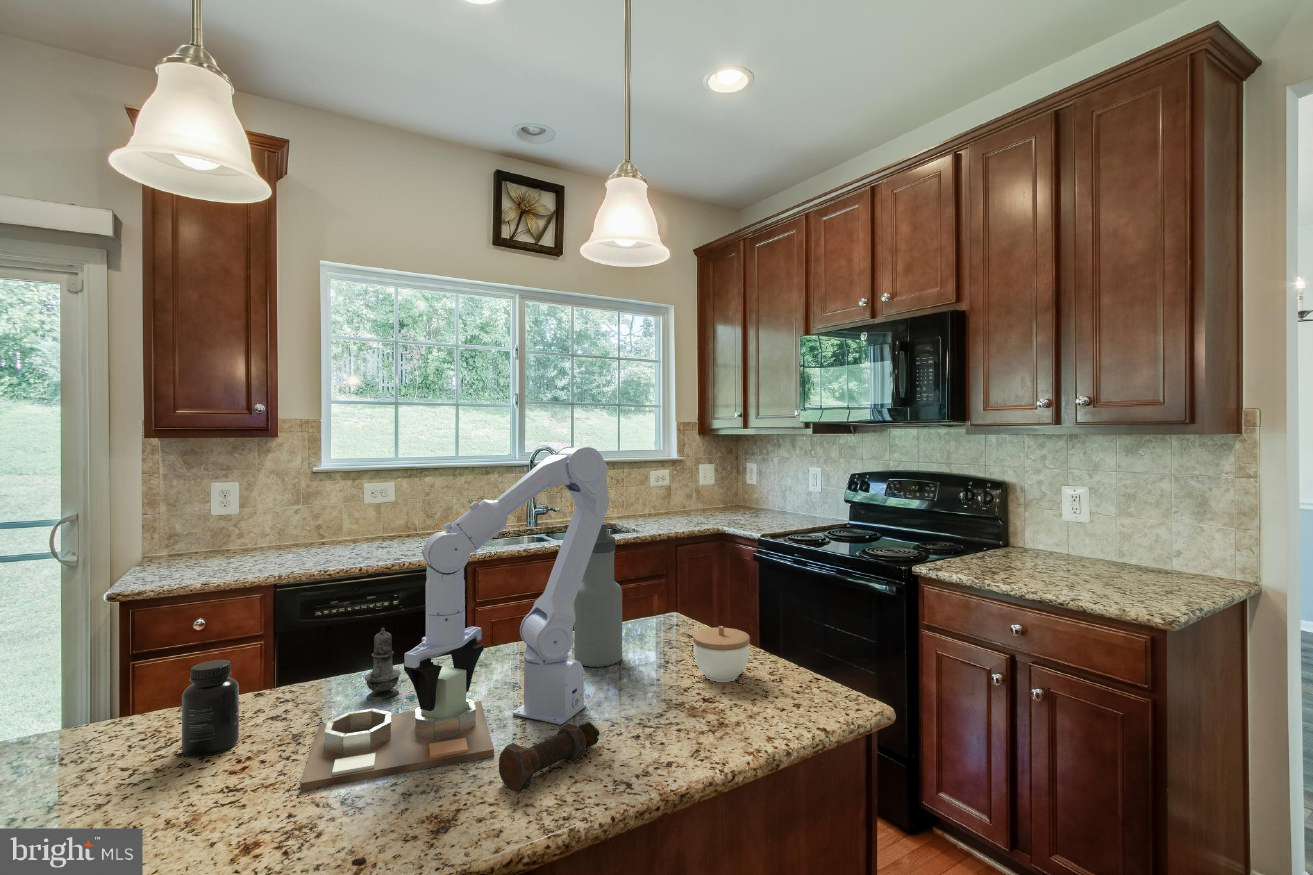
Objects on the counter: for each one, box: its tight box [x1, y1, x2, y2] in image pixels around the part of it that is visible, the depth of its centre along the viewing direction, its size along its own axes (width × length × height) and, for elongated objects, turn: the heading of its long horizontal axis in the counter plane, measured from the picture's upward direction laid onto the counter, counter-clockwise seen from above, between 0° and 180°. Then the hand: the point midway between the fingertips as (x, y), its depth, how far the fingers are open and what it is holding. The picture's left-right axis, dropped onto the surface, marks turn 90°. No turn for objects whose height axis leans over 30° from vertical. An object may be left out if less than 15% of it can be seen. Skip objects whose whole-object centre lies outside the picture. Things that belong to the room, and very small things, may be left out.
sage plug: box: [423, 666, 467, 720], centre depth 96 cm, size 4×4×8 cm
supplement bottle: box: [181, 659, 240, 758], centre depth 92 cm, size 7×7×12 cm
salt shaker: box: [364, 626, 402, 703], centre depth 111 cm, size 6×6×12 cm
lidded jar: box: [692, 625, 751, 683], centre depth 119 cm, size 11×11×9 cm
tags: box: [332, 738, 468, 775], centre depth 87 cm, size 17×4×1 cm, turn 111°
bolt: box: [498, 721, 600, 793], centre depth 86 cm, size 6×5×15 cm
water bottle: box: [573, 521, 623, 668], centre depth 129 cm, size 10×10×28 cm
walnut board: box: [300, 700, 495, 792], centre depth 93 cm, size 24×18×1 cm
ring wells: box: [325, 698, 476, 755], centre depth 94 cm, size 21×9×2 cm, turn 111°
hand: (445, 699), depth 96 cm, fingers open, 7 cm apart
